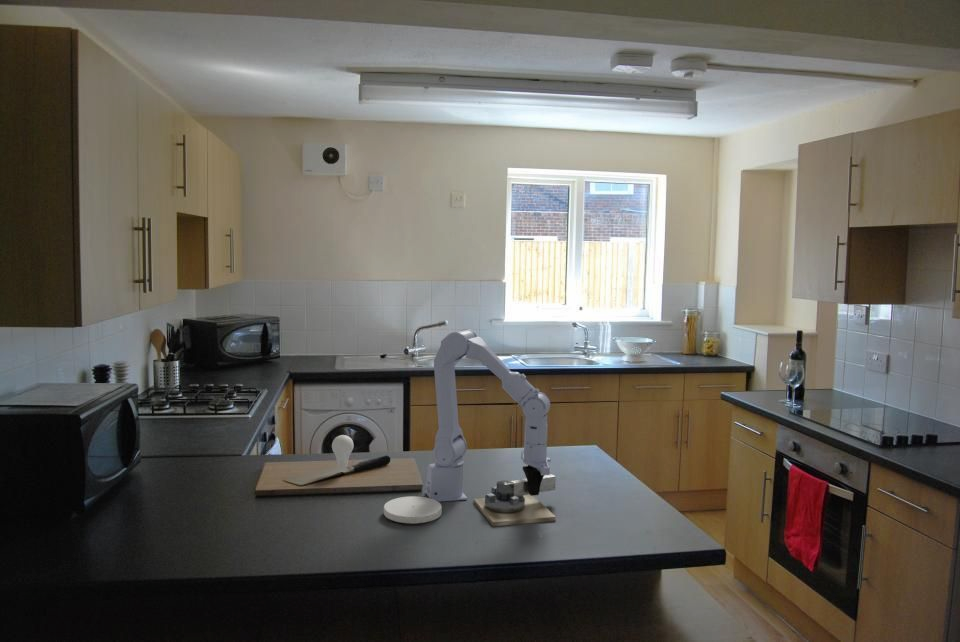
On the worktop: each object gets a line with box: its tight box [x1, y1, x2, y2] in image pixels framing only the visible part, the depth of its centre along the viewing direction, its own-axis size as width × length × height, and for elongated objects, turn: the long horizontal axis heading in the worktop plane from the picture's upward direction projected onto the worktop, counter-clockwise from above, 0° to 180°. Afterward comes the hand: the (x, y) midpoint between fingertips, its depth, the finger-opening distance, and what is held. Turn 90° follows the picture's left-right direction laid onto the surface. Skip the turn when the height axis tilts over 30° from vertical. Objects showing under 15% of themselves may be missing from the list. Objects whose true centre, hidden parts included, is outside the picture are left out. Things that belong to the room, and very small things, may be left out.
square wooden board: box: [473, 494, 557, 527], centre depth 176 cm, size 16×17×1 cm
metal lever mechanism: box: [484, 473, 557, 513], centre depth 178 cm, size 20×10×6 cm, turn 121°
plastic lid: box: [383, 495, 443, 524], centre depth 171 cm, size 14×14×2 cm
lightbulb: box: [331, 434, 355, 469], centre depth 201 cm, size 6×6×11 cm
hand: (533, 494), depth 177 cm, fingers closed
